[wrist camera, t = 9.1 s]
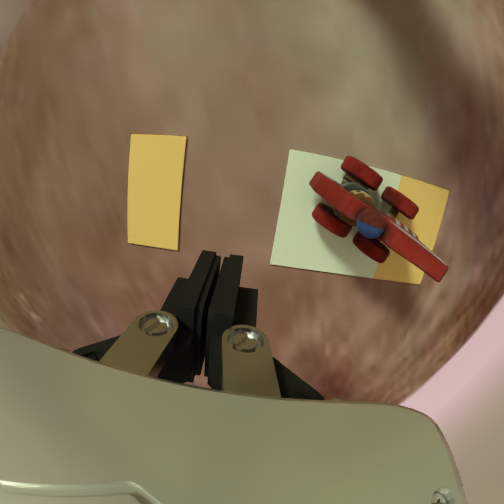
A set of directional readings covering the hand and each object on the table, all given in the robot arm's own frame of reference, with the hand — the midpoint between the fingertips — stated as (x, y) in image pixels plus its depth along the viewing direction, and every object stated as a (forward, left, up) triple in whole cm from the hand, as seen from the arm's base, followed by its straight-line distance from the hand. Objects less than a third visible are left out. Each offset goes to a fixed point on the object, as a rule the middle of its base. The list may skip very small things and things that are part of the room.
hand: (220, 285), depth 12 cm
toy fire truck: (-1, +11, -17) cm, 21 cm away
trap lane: (+1, +5, -17) cm, 18 cm away
